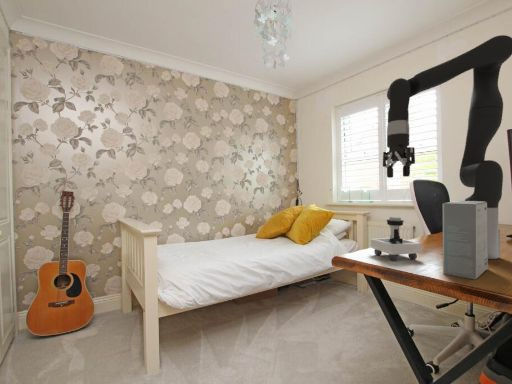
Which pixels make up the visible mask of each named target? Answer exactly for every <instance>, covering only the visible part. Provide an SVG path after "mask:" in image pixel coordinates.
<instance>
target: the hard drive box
mask: <svg viewBox="0 0 512 384" xmlns="http://www.w3.org/2000/svg"><path fill="white" fill-rule="evenodd" d="M488 260H489V259H488V245H487V202H484V201H465V200H453V201H449V202H444V203H442V274H443V275H448V276H453V277H459V278H464V279H468V280H476V279H479V277H480V276H481V275H483V273H484V272H485V271H486V270H487V269H488V268H489V266H488V265H489V264H488V263H489V261H488Z"/></svg>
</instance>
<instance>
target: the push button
mask: <svg viewBox="0 0 512 384" xmlns="http://www.w3.org/2000/svg"><path fill="white" fill-rule="evenodd" d="M404 222H405V221H404V220H402V218H401V217H399V216H398V217H397V216H390V217H389V219H386V224H387V226H389V227H390V236H389V238H390V239H388V243H391V244H402V239H403V238H401V236H400V228H401V226H404Z"/></svg>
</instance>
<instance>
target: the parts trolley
mask: <svg viewBox="0 0 512 384" xmlns="http://www.w3.org/2000/svg"><path fill="white" fill-rule="evenodd" d="M388 239H390V237H383V238H382V237H381V238H370V248H371V249H374V252H373V253H374V254H375V256H382V253H386V254H388V259H389V261H391V262H394V261H397V260H398V255H407V254H408V259H410V260H417V257H418V255H417V254H421V253H422V243H421V242H417V241H412V240H410V239H404V238H401V239H402V244H391V243H388Z"/></svg>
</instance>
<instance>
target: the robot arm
mask: <svg viewBox="0 0 512 384" xmlns="http://www.w3.org/2000/svg"><path fill="white" fill-rule="evenodd" d="M511 56H512V37H511V36H510V35H506V34H502V35H496V36H494V37H490V38H489V39H488V40H486V41H484V42H482V43H481V44H479V45H478V46H475V47H473V48H472V49H470V50H468V51H465V52H463V53H462V54H460V55H458V56H456V57H452V58H451V59H448V60H446V61H444V62H442V63H440V64H437V65H434V66H431V67H429V68H427V69H424V70H421V71H419V72H417V73H416V74H414V75H413V76H412V77H409V79H405V78H403V77H399V78H396V79H395V80H393V81H392V82H391V83H390V85H389V87H388V89H387V92H386V97H387V99H388V100H389V107H388V110H387V111H388V112H387V126H386V127H387V129H386V146H387V148H389V149H388V151H383V152H382V167H384V168H385V169H386V178H389V179H390V178H394V165H395V164H397V162H400V163H401V164H402V176H403V177H406V178H407V177H410V175H411V166H412V165H414V164H416V155H415V154H416V153H415V147H414V146H413V147H412V146H410V123H409V118H410V117H409V116H410V115H409V113H410V112H409V107H410V106H409V105H410V100H411V98H412V97H413V96H416V95H418V94H420V93H421V92H425V91H427V90H430V89H433V88H435V87H438V86H440V85H443V84H445V83H447V82H449V81H451V80H452V79H455V78H456V77H458V76H460V75H462V74H464V73H466V72H468V71H470V70H472V73H473V74H472V75H473V77H472V78H473V79H472V80H473V82H472V91H471V95H470V96H471V97H470V105H469V111H468V119H467V132H466V138H465V146H464V151H463V155H462V159H461V164H460V169H459V180H460V182H461V184H462V185H463V186H465V187H466V188H473V189H474V190H473V193H472V194H471V195H470V196H468V197H467V198H465V199H464V201H484V202H487V245H488V260H496V259H497V260H498V259H499V258H501V229H499V203H500V202H501V200H502V196H503V183H504V182H503V181H504V171H503V169H502V166H501V165H500V163H498V162H497V161H495V160H491V159H489V160H488V159H487V160H486V159H485V158H486V153H487V150H488V149H487V148H488V147H489V145H490V143H491V142H492V140H493V138H494V136H496V134H497V132H498V130H499V129H500V127H501V125H502V121H503V113H504V101H503V96H502V94H501V91H500V88H499V76H500V72H501V71H500V70H501V68H502V65H503V64H504V63H505V62H506V61H507V60H509V58H511Z"/></svg>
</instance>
